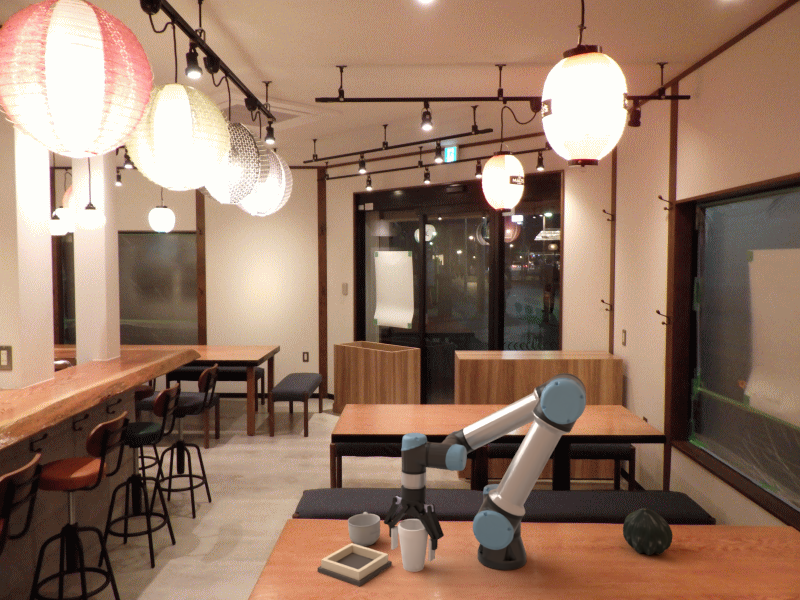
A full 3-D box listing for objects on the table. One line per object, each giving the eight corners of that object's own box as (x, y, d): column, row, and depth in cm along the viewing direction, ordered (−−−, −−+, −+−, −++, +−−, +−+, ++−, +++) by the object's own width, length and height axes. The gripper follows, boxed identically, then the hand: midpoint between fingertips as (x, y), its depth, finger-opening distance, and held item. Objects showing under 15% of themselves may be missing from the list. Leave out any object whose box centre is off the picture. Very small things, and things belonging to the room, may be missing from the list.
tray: (391, 565, 191) (391, 553, 191) (359, 586, 178) (359, 574, 178) (351, 552, 200) (351, 541, 200) (317, 571, 187) (317, 559, 187)
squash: (657, 521, 212) (633, 492, 208) (689, 541, 198) (664, 509, 194) (630, 552, 210) (605, 522, 206) (659, 574, 195) (633, 543, 192)
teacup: (375, 550, 202) (375, 526, 201) (343, 547, 204) (343, 523, 203) (385, 533, 215) (385, 510, 215) (355, 531, 217) (355, 508, 217)
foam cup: (406, 576, 184) (406, 533, 183) (392, 564, 192) (392, 522, 192) (434, 569, 188) (434, 527, 188) (419, 557, 196) (419, 516, 196)
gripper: (455, 489, 185) (454, 560, 186) (387, 474, 199) (386, 539, 200) (442, 496, 179) (441, 569, 180) (373, 480, 193) (372, 547, 194)
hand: (412, 553), depth 190 cm, fingers open, 13 cm apart
